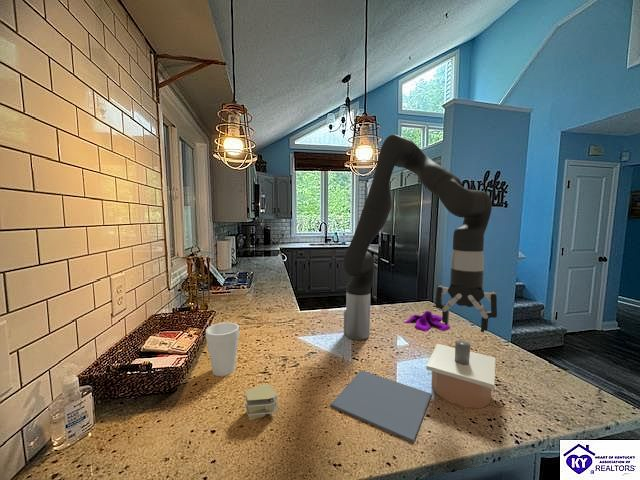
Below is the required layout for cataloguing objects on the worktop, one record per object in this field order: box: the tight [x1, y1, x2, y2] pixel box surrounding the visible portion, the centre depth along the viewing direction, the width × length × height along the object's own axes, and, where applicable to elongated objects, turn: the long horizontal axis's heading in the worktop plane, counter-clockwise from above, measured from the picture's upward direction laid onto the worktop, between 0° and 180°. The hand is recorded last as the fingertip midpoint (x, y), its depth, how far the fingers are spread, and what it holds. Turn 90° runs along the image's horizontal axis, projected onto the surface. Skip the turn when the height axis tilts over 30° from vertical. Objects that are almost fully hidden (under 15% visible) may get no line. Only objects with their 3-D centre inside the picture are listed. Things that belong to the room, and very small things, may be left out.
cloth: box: [405, 310, 451, 332], centre depth 122 cm, size 22×19×6 cm
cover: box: [425, 340, 496, 390], centre depth 74 cm, size 15×15×6 cm
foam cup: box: [205, 322, 240, 377], centre depth 83 cm, size 10×9×13 cm
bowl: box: [431, 371, 492, 409], centre depth 75 cm, size 14×14×7 cm
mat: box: [329, 369, 432, 443], centre depth 71 cm, size 20×18×1 cm
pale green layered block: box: [244, 383, 279, 421], centre depth 66 cm, size 10×9×6 cm
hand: (464, 327), depth 74 cm, fingers open, 8 cm apart
